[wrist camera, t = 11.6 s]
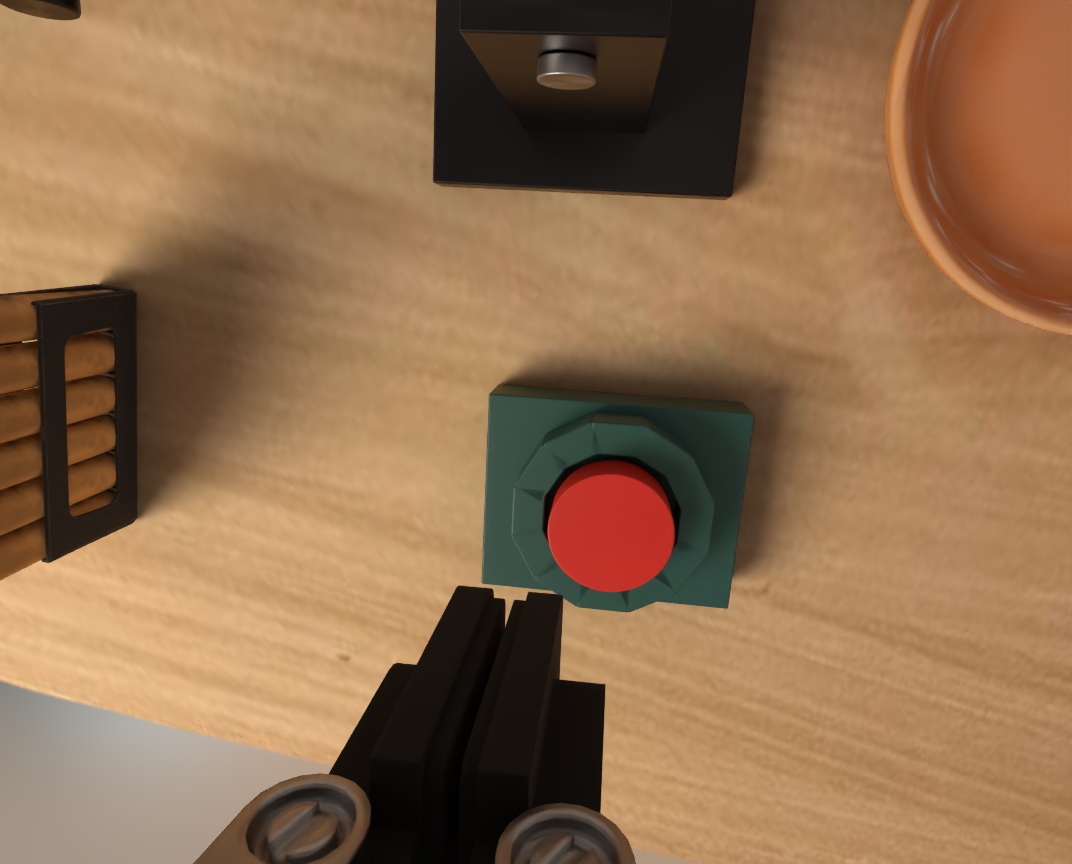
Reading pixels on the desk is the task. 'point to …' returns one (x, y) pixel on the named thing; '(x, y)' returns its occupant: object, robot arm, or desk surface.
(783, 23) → the desk surface
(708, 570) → the button block
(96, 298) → the ammunition clip
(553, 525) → the button
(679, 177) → the stand
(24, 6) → the lever
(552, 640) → the robot arm
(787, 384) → the desk surface
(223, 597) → the desk surface
